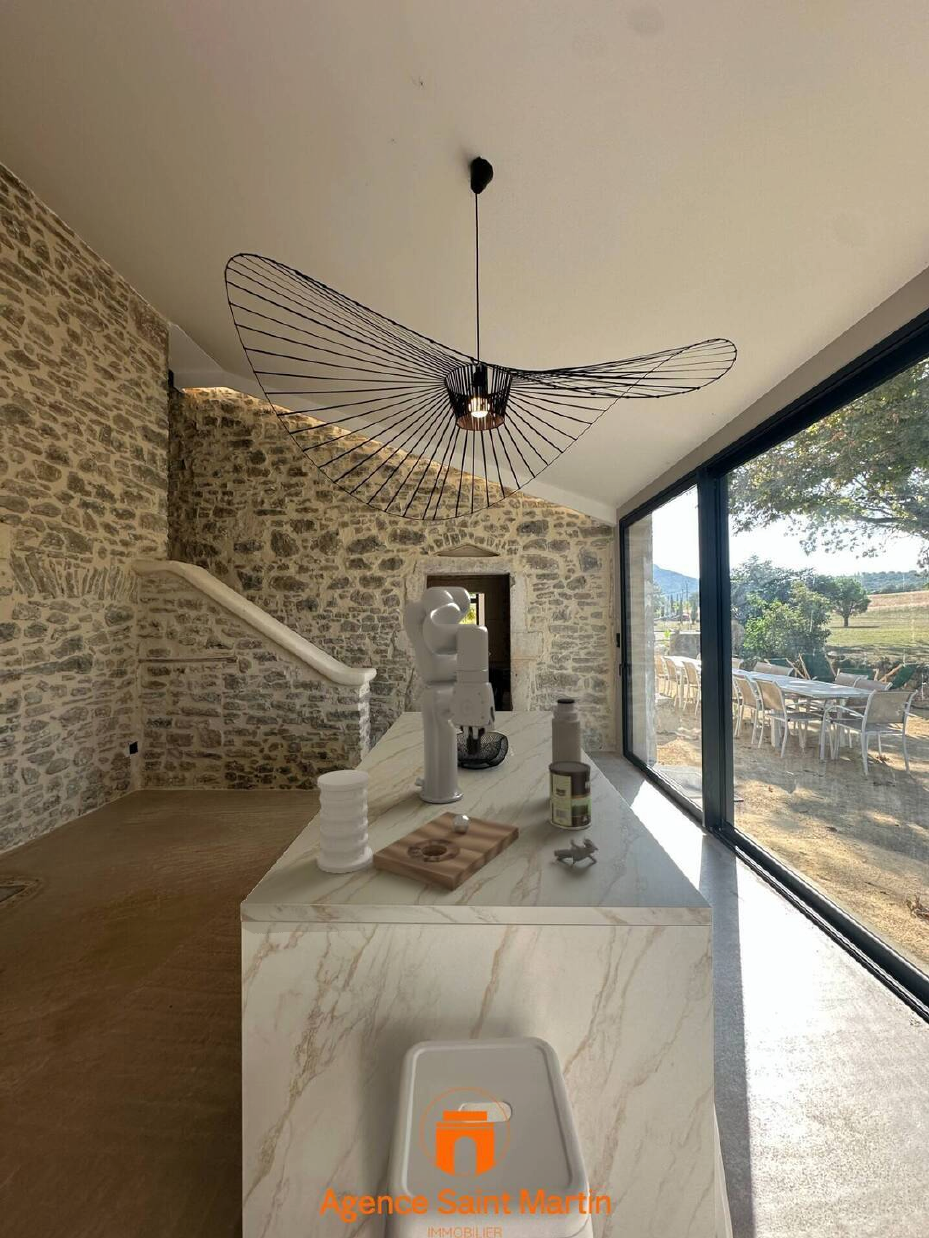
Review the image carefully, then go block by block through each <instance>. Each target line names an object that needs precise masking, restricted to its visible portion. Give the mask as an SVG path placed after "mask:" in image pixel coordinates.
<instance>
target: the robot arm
mask: <svg viewBox="0 0 929 1238" xmlns="http://www.w3.org/2000/svg"><path fill="white" fill-rule="evenodd" d="M471 601H472V600H471V596H470V594H469V592H468V590H467V589H465V588H464V587H462V586H432V587H431V586H430V587H429V588H427V589H425V590H424V591H423V592H422V594H421V596H420V600H418V601H413V602H410V603H408V604H406V605H405V607H404V609H403V613H402V621H403V627H404V631H405V634H406V636H407V638H408V640H409V642H410V644H411V645H412V648H413V651H414V656H415V659H416V665H417V669H418V674H419V678H420V682H421V684H422V685H424V686H425V687H426V689H424V690H423V691H422V693H421V695H420V697H419V704H420V712H421V716H422V725H423V752H424V753H423V756H424V757H423V758H424V759H423V760H424V761H423V763H424V765H423V766H424V777H421V776H417V777H416V780H415V782H414V785H415V786H416V787H421V790H420V791H419V799H421V801H424V802H427V803H433V804H446V803H453V802H456V801H458V800H461V799H462V798H463V797H464V790H463V789H462V788H460V787H458V784H459V783H458V778H459V777H458V735H457V731H455V729H458V730H460V731H461V732H462V734H463V736H464V739H466V750H467V753H466V754H467V755H468V756H472V757H475V756H477V755H479V754H481V751H482V737H483V736H484V735H485V734H486V733H491V732H492V731H493V732H494V731H495V724H494V723H495V721H496V720H495V719H496V708H495V699H494V698H495V697H494V691H493V687H492V683H491V682H489V632H488V629H487V627H486V626H484V625H481V624H479V625H478V624H474V623H461V622H462V621H463V620H464V618H466V616H467V615H468V614H469V611H470V609H471V606H472V605H471V604H472V603H471ZM427 687H428V688H427ZM449 720H450V722H451V723H452V725H451V724H450V722H449Z"/></svg>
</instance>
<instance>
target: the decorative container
mask: <svg viewBox="0 0 929 1238" xmlns="http://www.w3.org/2000/svg"><path fill="white" fill-rule="evenodd" d="M316 781H317V784H316V785H317V788H319V789H320V793H319V798H318V799H319V803H320V806H321V808H320V810H319V816H320V820H321V823H320V826H319V830H320V834H321V839H320V843H319V845H320V848H321V852H319V853H318V854H317V857H316V865H318V866H317V868H318V869H319V868H320V869H321V870H320V869H319V870H320V871H322V870H323V871H322V872H324V871H328V872H333V873H332V874H335V873H339V872H340V873H341V874H347V873H346V872H350V873H353V872H352V871H354V872H357V871H360V870H362V869H364V868H366V867H367V866H369V865H370V864H371V863H372V862H373V850H372V849H371V848H370V846H368V844H369V833H368V827H369V820H368V818H367V815H368V813H369V806H368V803H367V800H368V797H369V796H368V795H369V793H368V790H367V786H368V784H369V783H370V774H369V773H368V772H367V771H363V770H358V769H343V770H335V771H330V772H327V773H323V774H322V775H319V776H318V778H317V779H316ZM328 872H327V873H328ZM334 872H335V873H334ZM344 872H345V873H344Z"/></svg>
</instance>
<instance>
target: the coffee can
mask: <svg viewBox="0 0 929 1238" xmlns="http://www.w3.org/2000/svg"><path fill="white" fill-rule="evenodd" d="M548 771H549V773H548V774H549V823H550V824H551V825H552V826H554V827H555V828H559V829H563V830H568V831H569V830H570V831H580V830H584V829H587V828H589V827H590V826H592V816H591V815H592V810H591V807H592V806H591V804H592V803H591V800H592V799H591V766H590V764H589V763H588V764H587V763H585V762H582V761H581V762H576V761H558V762H554V763H552V762H551V763H549V765H548Z"/></svg>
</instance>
